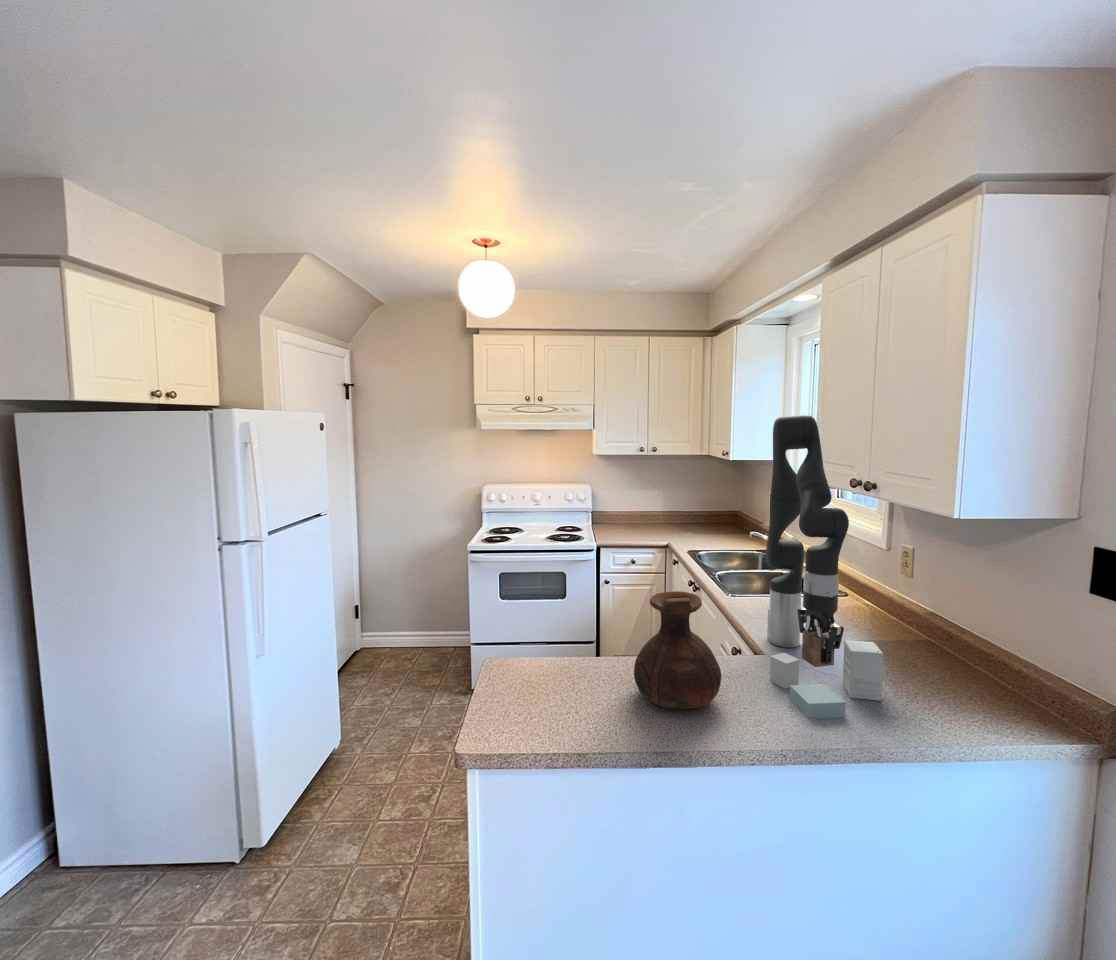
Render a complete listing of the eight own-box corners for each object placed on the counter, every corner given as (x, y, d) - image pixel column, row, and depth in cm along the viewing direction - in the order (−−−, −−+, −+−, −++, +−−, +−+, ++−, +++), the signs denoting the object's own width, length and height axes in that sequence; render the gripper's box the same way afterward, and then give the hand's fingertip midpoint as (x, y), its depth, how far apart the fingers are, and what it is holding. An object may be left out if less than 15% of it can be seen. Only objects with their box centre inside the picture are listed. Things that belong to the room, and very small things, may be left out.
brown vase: (615, 696, 136) (615, 583, 133) (668, 671, 149) (669, 568, 146) (685, 733, 119) (687, 605, 116) (737, 701, 133) (740, 585, 130)
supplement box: (872, 687, 139) (875, 641, 137) (881, 702, 132) (884, 653, 130) (841, 684, 141) (843, 638, 139) (848, 698, 134) (851, 650, 132)
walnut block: (801, 658, 130) (802, 630, 129) (819, 656, 131) (820, 629, 130) (815, 667, 125) (816, 638, 124) (833, 665, 126) (835, 636, 125)
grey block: (770, 680, 143) (770, 656, 142) (783, 676, 145) (784, 652, 145) (785, 689, 139) (786, 663, 138) (798, 684, 141) (799, 659, 140)
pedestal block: (789, 700, 133) (789, 685, 133) (823, 698, 134) (824, 683, 134) (808, 719, 125) (808, 703, 124) (844, 718, 125) (845, 702, 125)
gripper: (788, 582, 133) (786, 647, 134) (827, 600, 119) (824, 672, 120) (814, 580, 134) (812, 645, 136) (856, 598, 120) (853, 669, 122)
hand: (818, 657), depth 128 cm, fingers closed on walnut block, 5 cm apart
